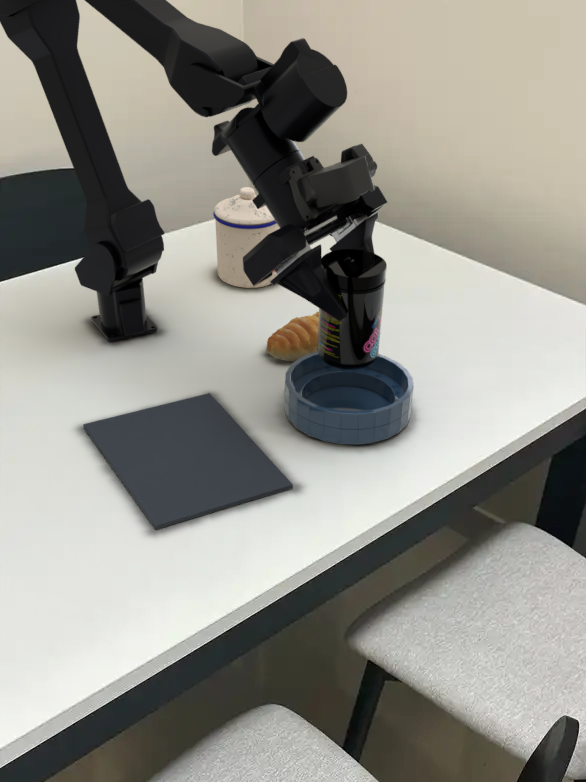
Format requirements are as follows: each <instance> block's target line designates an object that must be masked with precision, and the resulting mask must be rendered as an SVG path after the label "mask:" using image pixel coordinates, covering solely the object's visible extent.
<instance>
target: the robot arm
mask: <svg viewBox="0 0 586 782" xmlns="http://www.w3.org/2000/svg"><path fill="white" fill-rule="evenodd" d="M84 1H85V3H86V4H89V5H90V7H92V8H93V9H95V10H96V11H97V12H98V13H99V14H100V15H102V16H103V17H104V18H105V19H107V20H108V21H109V22H110V23H111V24H113V26H115V27H116V28H118V29H119V30H120V31H121V32H122V33H124V35H126V36H127V37H129V38H130V39H131V40H132V41H133V42H134V43H136V44H137V45H138V46H140V48H141V49H143V50H144V51H145V52H147V53H148V54H149V55H151V56H152V58H154V59H155V60H156V61H157V62H158V63H159V64H160V65H161V67H163V70H164V72H165V75H166V78H167V81H168V83H169V85H170V87H171V88H172V89H173V91H174V92H176V94H177V95H178V97H180V98H181V99H182V101H183V102H184V103H185V104H186V105H187V106H188V107H189V108H190V110H192V111H193V112H194V113H195V114H197V115H199V116H201V117H202V118H203V117H204V118H211V117H214V116H217V115H221V114H223V113H226V112H229V111H231V110H234V109H237V108H240V107H242V106H246V105H248V104H251V102H253V101H254V100H256V101H257V104H256V105H255V106H254V107H251V106H250V107H249V106H247V107H244V108H241V109H240V110H239V111H238V112H237V113H236V115H234V116H233V118H232V119H231V120H230V121H229V120H224V121H222V122H219V123H217V124H214V125H213V140H212V144H211V154H212V155H213V156H214V157H218V156H221V155H222V154H225V153H227V152H230V151H231V153H232V154H233V156H234V158H235V159H236V160H237V162H238V164H239V165H240V167H241V168H242V170H243V172H244V173H245V175H246V176H247V178H248V179H249V181H250V183H251V184H252V186H253V189H254V190H255V192H257V194H256V195H257V196H256V197H255V198H254V199H253V200H252V201H253V203H254V204H255V206H256V207H257V209H259V208H262V207H264V206H266V207H267V208H268V210H269V211H270V213H271V215H272V216H273V218H274V219H275V221H276V223H277V224H278V226H279V227H280V229H278V230H276V231H274V232H272V233H270V234H268V235H267V236H266V237H265V238H264V239H263V240H261V241H260V242H259V243H258V244H257V245H256V246H255V247H254V248H253V249H251V250H250V251H249V252H248V253H247V254H246V255H245V256H244V257H243V271H244V272H245V274H246V276H247V277H248V279H249V280H250V282H251V283H252V285H253V286H256V285H257V284H259V283H261V282H263V281H265V280H266V279H268V278H270V277H271V276H272V271H273V270H275V272H276V273H277V276H276V277H275V278H274V279H272V280H271V281H270V283H271V284H270V285H272V286H276V285H278V286H280V287H282V288H284V289H286V290H287V291H290V292H291V293H293V294H295V295H297V296H299V297H301V298H302V299H304V300H306V301H307V302H309V303H310V304H312V305H313V306H315V307H317V308H318V309H319V308H320V309H321V310H323V311H324V312H326V313H328V314H329V315H331V316H332V317H334V318H335V319H337V320H339V321H341V320H343V319H344V318H345V317H347V313H346V310H345V308H344V306H343V304H342V302H341V300H340V298H339V296H338V294H337V293H336V291H335V289H334V287H333V285H332V284H331V282H330V280H329V278H328V276H327V274H326V273H325V271H324V269H323V267H322V257H323V256H322V244H321V243H320V244H318V245H316V246H315V247H313V248H312V247H311V246H312V245H314V244H316V243H318V242H319V241H321V240H322V239H324V238H326V237H328V236H330V237H332V238H333V239H334V241H335V243H334V244H333V245H332V246H331V247H329V251H330V252H332V251H336V250H342V249H356V250H363V251H368V252H371V253H374V254H376V252H375V249H374V241H373V233H374V228H375V224H376V222H377V221H378V219H379V216H380V215H379V212H378V211H380V210H381V209H382V208H383V207H385V206H386V205H387V204H388V200H387V199H386V197H385V195H384V194H383V192H382V190H381V188H380V186H378V185H375V184H374V181H373V179H372V178H373V177H375V175H376V172H377V170H378V164H377V162H376V161H374V158H373V156H372V154H370V152H369V151H368V150H367V148H366V147H365V145H364V143H358V144H355V145H353V146H350V147H348V148H346V149H343V150H342V151H341V154H340V161H339V162H336V163H334V164H331V165H328V166H325V167H324V166H323V164H322V163H321V161H320V159H319V158H318V157H315V155H312V156H310V157H308V158H305V156H304V155H303V153H302V151H301V150H300V149H299V147H298V145H297V143H304V142H306V141H307V140H308V139H309V138H310V137H312V136H313V135H314V134H315V133H316V131H318V130H319V129H320V128H321V127H322V126H323V125H324V124H325V123H326V122H327V121H328V120H329V119H330V118H331V117H332V115H334V114H335V113H336V112H337V111H338V110H339V109H340V108H341V107H342V106H343V105H344V104H345V103H346V101H347V99H348V87H347V83H346V80H345V77H344V74H342V71H341V69H340V68H339V66H338V65H337V64H334V63H333V61H331V59H329V58H328V57H327V56H325V55H324V54H323V53H321V52H320V51H318V50H315V49H313V48H312V47H311V46H310V45H309V42H308V41H307V40H306V38H304V37H301V38H299V39H295V40H291V41H290V42H289V43H288V44H287V45H286V46H285V47H284V49H283V50H282V52H281V54H280V56H279V58H278V59H277V60H276V61H275V62H274V63H273V62H270V61H269V60H267V59H264V58H261V57H259V56H257V55H256V53H255V51H254V49H252V48H251V47H250V45H249V44H247V43H246V42H244V41H243V40H241V39H239V38H237V37H235V36H234V35H232V34H230V33H228V32H227V31H224V30H223V29H220V28H217V27H213V26H210V25H208V24H203V23H200V22H197V21H195V20H193V19H191V18H189V17H188V16H186V15H185V14H184V13H183V12H181V11H180V10H179V9H178V8H177V7H176V6H174V5H173V4H172V3H170V2H169V1H168V0H84ZM80 20H81V15H80V10H79V6H78V2H77V0H0V25H1V27H2V29H3V31H4V33H5V35H6V36H7V38H8V40H10V41H11V42H12V43H13V44H14V45H15V46H16V47H17V49H18V50H20V51H21V52H22V53H23V54H24V55H25V57H27V58H28V60H30V61H31V62H32V64H33V67H34V69H35V72H36V75H37V77H38V79H39V81H40V85H41V87H42V90H43V92H44V95H45V97H46V100H47V103H48V105H49V108H50V111H51V113H52V115H53V119H54V120H55V123H56V126H57V128H58V131H59V134H60V136H61V139H62V142H63V144H64V146H65V149H66V152H67V155H68V157H69V159H70V162H71V164H72V167H73V170H74V173H75V175H76V177H77V180H78V183H79V186H80V187H81V188H80V189H81V190H82V193H83V196H84V199H85V203H86V205H85V214H84V225H83V233H84V237H85V240H86V243H87V247H88V252H86V254H85V255H84V256H83V257H82V258H81V260H79V262H78V263H77V264H76V265H75V266H74V271H75V273H76V276H77V280H78V282H79V284H80V286H81V287H84V288H87V289H88V290H89V289H90V290H92V291H93V292H96V298H97V306H98V314H95V315H92V316H91V317H90V319H91V322H92V323H93V324H94V326H95V327H96V328H97V329H98V331H99V332H100V334H102V335H103V337H104V338H105V339H106V340H107V341H109V342H114V341H120V340H124V339H129V338H133V337H139V336H142V335H147V334H152V333H156V332H158V326H157V325H156V324H155V323H154V321H152V319H151V318H149V316H148V315H147V308H146V301H145V300H146V297H145V288H144V287H145V286H144V278H145V277H148V276H150V275H153V274H156V273H157V271H158V270H157V269H158V265H159V261H160V260H161V259H162V255H163V252H164V251H165V243H164V239H163V236H164V235H165V231H164V229H163V228H162V226H161V225H160V222H159V221H158V217H157V213H156V208H155V205H154V204H153V202H152V201H151V199H149V198H147V199H145V200H143V201H142V200H141V199H140V198H139V197H138V196H137V195H136V194H134V192H133V191H132V190H130V188H129V187H128V184H127V182H126V180H125V176H124V174H123V170H122V169H121V166H120V163H119V160H118V157H117V154H116V152H115V149H114V146H113V144H112V140H111V138H110V135H109V132H108V129H107V127H106V124H105V122H104V119H103V116H102V113H101V110H100V107H99V105H98V102H97V99H96V97H95V94H94V91H93V87H92V86H91V83H90V80H89V78H88V75H87V72H86V69H85V67H84V64H83V61H82V58H81V56H80V52H79V48H78V41H79V34H80V33H79V32H80Z"/></svg>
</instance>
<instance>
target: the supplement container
mask: <svg viewBox="0 0 586 782" xmlns="http://www.w3.org/2000/svg"><path fill="white" fill-rule="evenodd" d="M374 253H375V252H374ZM374 253H371V252H368V251H363V250H356V249H342V250H336V251H330V252H326V253H325V254H324V255H323V256H322V267H323V269H324V271H325V273H326V274H327V276H328V278H329V280H330V282H331V284H332V285H333V287H334V289H335V291H336V293H337V294H338V296H339V298H340V300H341V302H342V304H343V306H344V308H345V310H346V313H347V317H345V318H344V319H343V320H341V321H339V320H337V319H335V318H334V317H332V316H331V315H329V314H328V313H326V312H324V311H323V310H321V309H320V308H318V312H319V323H318V347H317V350H318V354H319V356H320V357H321V359H322V360H323V361H324V362H325V363H327V364H328V365H330V366H333V367H335V368H339V369H346V370H355V369H361V368H365V367H367V366H369V365H371V364H372V363H373V362H374V361H375V360H376V358H377V356H378V354H379V351H380V342H381V341H380V340H381V330H382V319H383V307H384V297H385V286H386V279H387V267H388V266H387V262H386V260H385V258H383V257H381V256H380V255H378V254H377V253H375V254H374Z"/></svg>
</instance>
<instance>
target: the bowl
mask: <svg viewBox="0 0 586 782" xmlns="http://www.w3.org/2000/svg"><path fill="white" fill-rule="evenodd" d="M284 377H285V378H284V413H285V415H286V417H287V419H288V421H289V423H291V424H292V425H293V426H294V427H295V429H297V430H298V431H300V432H302V433H304V434H306V435H307V436H309V437H312V438H315V439H317V440H320V441H323V442H327V443H333V444H338V445H365V444H373V443H378V442H381V441H384V440H387V439H390V438H391V437H393V436H395V435H398V434H399V433H400V432H401V431H402V430H403V429H404V428H406V426H407V425H408V423H409V420H410V418H411V413H412V403H413V395H414V386H415V385H414V379H413V377H412V375H411V374H410V372H409V370H408V369H407V368H406V367H405V366H403V365H402V364H401V363H399V362H398V361H397V360H395V359H392V358H390V357H389V356H386V355H383V354H380V353H378V356H377V358H376V360H375V361H374V362H373V363H372V364H371V365H369V366H367V367H365V368H361V369H355V370H346V369H339V368H335V367H333V366H330V365H328V364H327V363H325V362H324V361H323V360H322V359H321V357H320V356H319V354H318V352H314V353H310V354H308V355H306V356H304V357H301V358H299V359H298V360H296V361H293V362H292V363H291V364H290V365H289V367H288V369H287V370H286V371H285V375H284Z"/></svg>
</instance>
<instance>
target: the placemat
mask: <svg viewBox="0 0 586 782" xmlns="http://www.w3.org/2000/svg"><path fill="white" fill-rule="evenodd" d="M82 426H83V429H84V430H85V432H86V433H87V435H88V436H89V438H90V439H91V440H92V442H93V443H94V445H95V446H96V448H97V449H98V451H99V452H100V454H101V455H102V456H103V457H104V459H105V460H106V462H107V463H108V464H109V466H110V467H111V469H112V470H113V472H114V473H115V474H116V476H117V477H118V479H119V480H120V481H121V483H122V484H123V486H124V487H125V488H126V490H127V492H128V493H129V494H130V496H132V499H133V500H134V501H135V502H136V504H137V505H138V507H139V508H140V510H141V511H142V513H143V514H144V515H145V517H146V518H147V520H148V521H149V523H150V524H151V526H152V527H153V528H154V530H159V529H162V528H166V527H169V526H172V525H176V524H179V523H183V522H186V521H188V520H192V519H196V518H199V517H203V516H205V515H208V514H212V513H215V512H218V511H222V510H225V509H228V508H232V507H235V506H238V505H242V504H245V503H248V502H251V501H255V500H258V499H261V498H265V497H268V496H271V495H274V494H275V495H276V494H278V493H281V492H285V491H288V490H291V489H293V488H294V484H293V483H292V482H291V481H290V480H289V478H287V476H286V475H285V474H284V473H283V472H282V471H281V470H280V468H279V467H277V465H276V464H275V463H274V462H273V461H272V460H271V459H270V458H269V456H267V454H265V452H264V451H263V449H261V448H260V447H259V446H258V444H257V443H256V442H255V441H254V440H253V439H252V437H250V436H249V435H248V434H247V432H246V431H245V430H244V429H243V428H242V427H241V426H240V424H238V422H237V421H236V420H235V419H234V418H233V417H232V416H231V414H229V412H227V410H226V409H225V408H224V407H223V406H222V405H221V404H220V403H219V401H218V400H217V399H216V398H215V397H214V396H213V394H211V392H207V393H204V394H200V395H195V396H192V397H187V398H184V399H180V400H176V401H171V402H168V403H164V404H160V405H156V406H152V407H148V408H143V409H139V410H135V411H131V412H128V413H123V414H119V415H114V416H111V417H106V418H103V419H98V420H95V421H90V422H88V423H87V422H86V423H83V424H82Z"/></svg>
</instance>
